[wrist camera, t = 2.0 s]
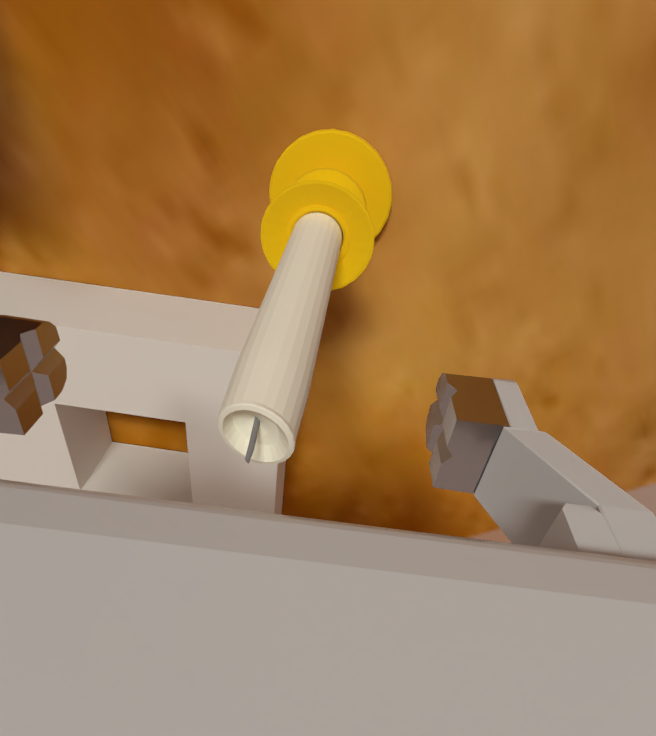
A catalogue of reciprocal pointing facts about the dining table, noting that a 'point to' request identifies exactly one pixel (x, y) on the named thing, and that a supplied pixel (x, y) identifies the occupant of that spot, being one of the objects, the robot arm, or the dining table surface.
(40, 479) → the hole board
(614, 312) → the dining table surface
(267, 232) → the candle
